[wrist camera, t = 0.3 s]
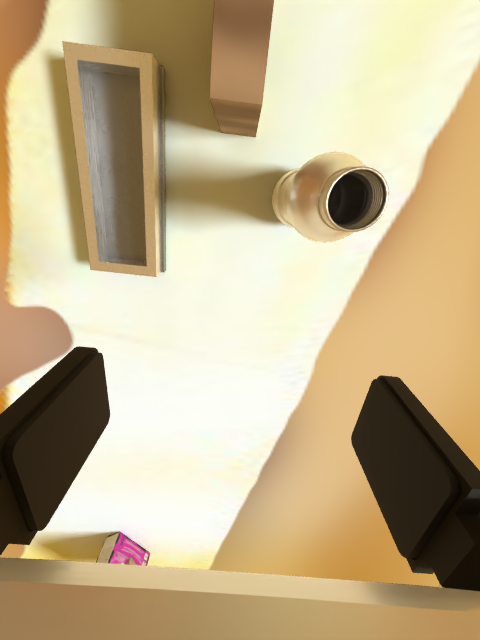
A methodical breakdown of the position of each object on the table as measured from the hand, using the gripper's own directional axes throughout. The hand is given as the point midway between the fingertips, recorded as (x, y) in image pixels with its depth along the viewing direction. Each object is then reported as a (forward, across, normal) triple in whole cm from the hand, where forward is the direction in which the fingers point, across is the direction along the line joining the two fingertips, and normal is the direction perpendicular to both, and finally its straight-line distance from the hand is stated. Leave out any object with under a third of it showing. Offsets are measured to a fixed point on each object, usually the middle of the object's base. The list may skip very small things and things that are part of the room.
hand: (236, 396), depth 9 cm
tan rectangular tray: (+30, +15, -7) cm, 34 cm away
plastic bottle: (+30, -6, -7) cm, 31 cm away
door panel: (+30, +2, -19) cm, 35 cm away
